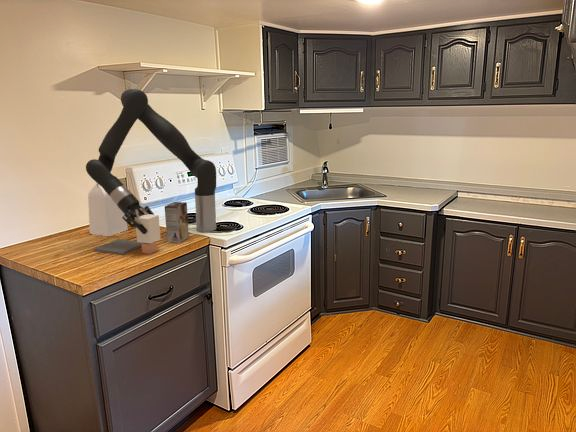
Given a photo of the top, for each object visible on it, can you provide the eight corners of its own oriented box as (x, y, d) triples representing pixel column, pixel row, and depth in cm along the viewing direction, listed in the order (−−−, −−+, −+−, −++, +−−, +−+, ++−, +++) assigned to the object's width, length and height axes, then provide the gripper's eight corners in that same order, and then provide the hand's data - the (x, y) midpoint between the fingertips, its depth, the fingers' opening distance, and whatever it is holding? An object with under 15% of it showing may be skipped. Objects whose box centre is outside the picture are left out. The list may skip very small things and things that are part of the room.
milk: (110, 227, 214) (104, 174, 208) (128, 230, 209) (123, 175, 203) (89, 233, 203) (83, 177, 197) (108, 236, 199) (102, 179, 192)
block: (142, 252, 177) (141, 243, 176) (148, 250, 181) (147, 240, 180) (150, 254, 176) (149, 244, 175) (156, 251, 180) (155, 241, 179)
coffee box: (175, 236, 200) (173, 201, 196) (189, 237, 198) (187, 202, 194) (166, 242, 191) (164, 206, 187) (180, 243, 190) (178, 206, 186)
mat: (94, 251, 179) (94, 248, 179) (118, 241, 192) (118, 239, 192) (122, 255, 174) (122, 252, 174) (145, 244, 187) (145, 242, 187)
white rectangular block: (137, 241, 176) (134, 217, 173) (147, 237, 181) (145, 213, 179) (150, 243, 173) (148, 219, 171) (160, 238, 179) (158, 215, 177)
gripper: (116, 197, 169) (145, 229, 168) (141, 190, 182) (167, 220, 181) (107, 209, 172) (134, 241, 171) (131, 201, 185) (157, 231, 184)
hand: (151, 230), depth 176 cm, fingers closed on white rectangular block, 6 cm apart
